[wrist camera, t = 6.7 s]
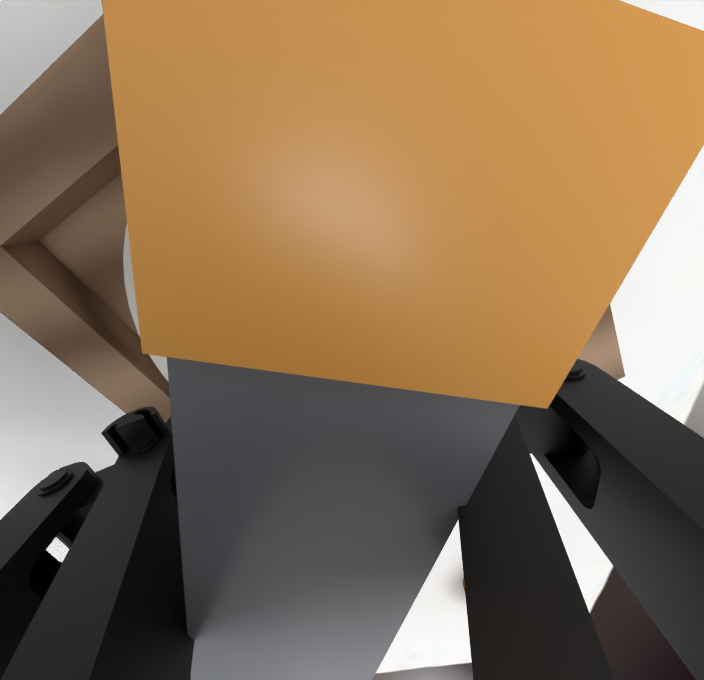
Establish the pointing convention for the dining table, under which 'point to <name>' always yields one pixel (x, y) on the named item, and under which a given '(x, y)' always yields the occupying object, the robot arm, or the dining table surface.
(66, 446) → the dining table surface
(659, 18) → the dial
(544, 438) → the robot arm
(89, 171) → the dial base
